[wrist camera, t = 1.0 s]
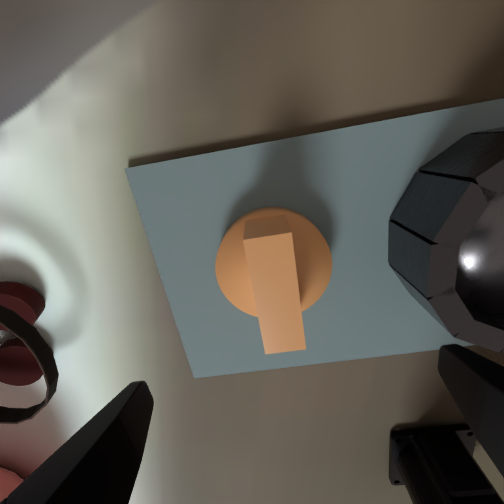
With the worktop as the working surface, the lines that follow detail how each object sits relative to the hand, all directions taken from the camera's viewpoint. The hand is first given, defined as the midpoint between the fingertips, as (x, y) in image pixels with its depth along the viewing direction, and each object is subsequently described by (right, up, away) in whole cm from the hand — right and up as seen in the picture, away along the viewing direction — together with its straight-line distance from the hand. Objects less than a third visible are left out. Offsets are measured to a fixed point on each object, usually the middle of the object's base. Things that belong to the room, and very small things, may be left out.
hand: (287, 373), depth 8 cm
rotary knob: (0, +3, +8) cm, 9 cm away
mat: (+6, +3, +8) cm, 11 cm away
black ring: (+12, +5, +7) cm, 15 cm away
